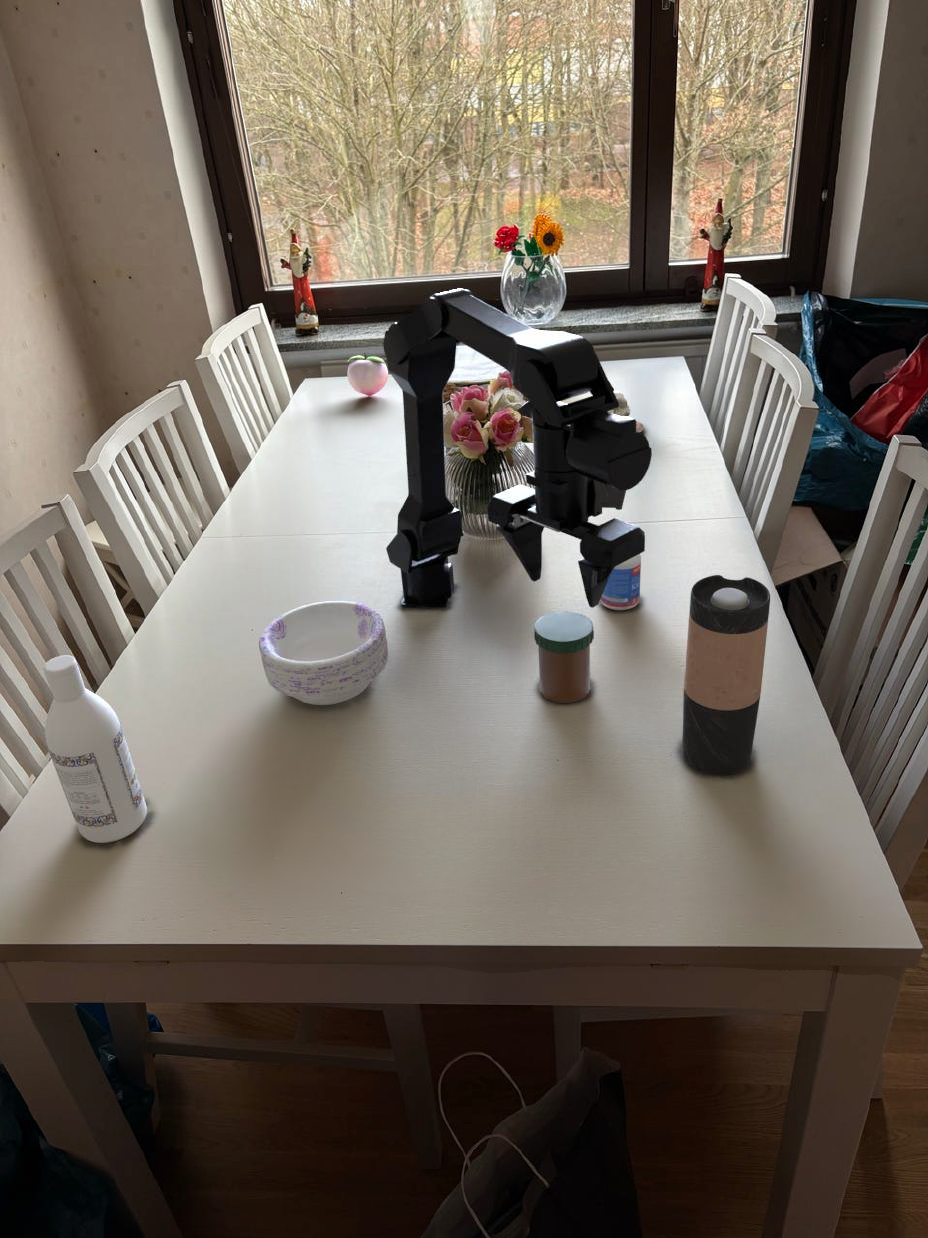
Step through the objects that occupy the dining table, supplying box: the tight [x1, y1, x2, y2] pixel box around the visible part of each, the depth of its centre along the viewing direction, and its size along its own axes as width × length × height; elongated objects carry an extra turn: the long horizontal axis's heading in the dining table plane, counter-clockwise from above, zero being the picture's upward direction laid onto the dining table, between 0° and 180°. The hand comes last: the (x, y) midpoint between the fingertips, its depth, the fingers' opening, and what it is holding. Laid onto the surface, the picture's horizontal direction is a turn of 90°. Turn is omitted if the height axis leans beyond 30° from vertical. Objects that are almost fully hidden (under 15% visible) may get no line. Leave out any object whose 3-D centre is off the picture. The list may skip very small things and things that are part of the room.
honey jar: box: [537, 644, 591, 704], centre depth 112 cm, size 6×6×8 cm
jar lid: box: [533, 610, 595, 654], centre depth 110 cm, size 7×7×2 cm
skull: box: [608, 389, 645, 433], centre depth 186 cm, size 12×10×10 cm
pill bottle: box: [600, 553, 642, 611], centre depth 129 cm, size 6×5×10 cm
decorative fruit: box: [346, 351, 389, 397], centre depth 213 cm, size 9×8×10 cm
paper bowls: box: [258, 600, 389, 706], centre depth 117 cm, size 15×15×8 cm
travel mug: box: [682, 574, 771, 776], centre depth 97 cm, size 8×8×20 cm
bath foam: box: [43, 654, 148, 844], centre depth 95 cm, size 7×7×20 cm
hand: (564, 592), depth 108 cm, fingers open, 9 cm apart
